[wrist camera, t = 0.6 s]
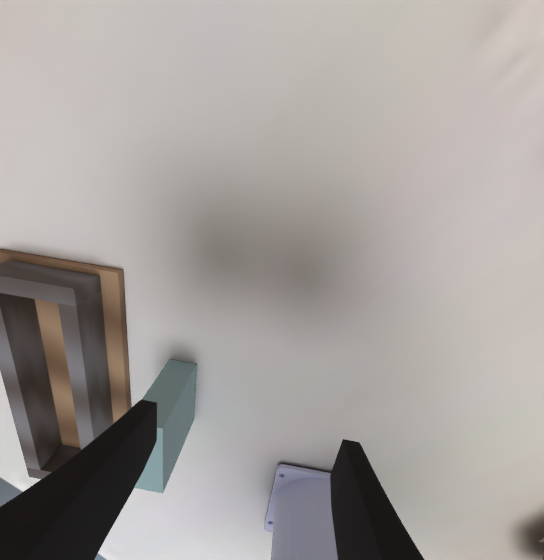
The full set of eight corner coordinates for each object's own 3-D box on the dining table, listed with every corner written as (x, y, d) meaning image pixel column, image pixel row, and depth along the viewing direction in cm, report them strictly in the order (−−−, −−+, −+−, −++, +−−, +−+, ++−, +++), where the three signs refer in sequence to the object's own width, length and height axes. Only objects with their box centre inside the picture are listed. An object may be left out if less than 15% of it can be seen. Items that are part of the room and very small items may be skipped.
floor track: (134, 462, 27) (115, 496, 24) (44, 445, 27) (15, 477, 25) (123, 270, 20) (93, 286, 17) (0, 249, 20) (-49, 261, 17)
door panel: (194, 419, 24) (162, 493, 19) (169, 414, 24) (130, 486, 19) (197, 363, 22) (162, 428, 17) (169, 358, 22) (126, 421, 17)
